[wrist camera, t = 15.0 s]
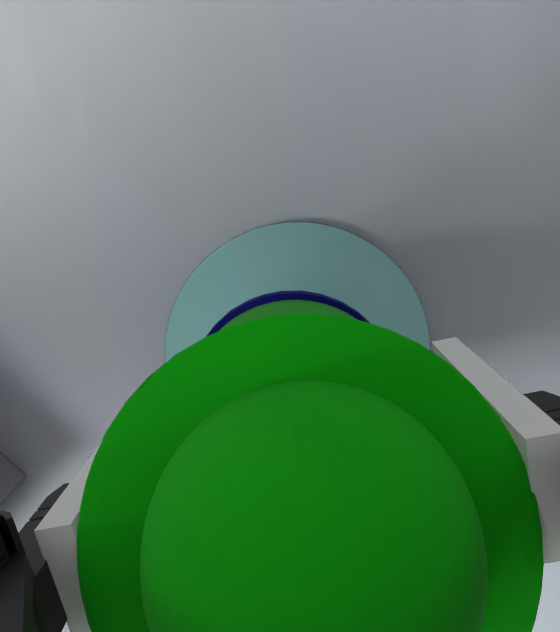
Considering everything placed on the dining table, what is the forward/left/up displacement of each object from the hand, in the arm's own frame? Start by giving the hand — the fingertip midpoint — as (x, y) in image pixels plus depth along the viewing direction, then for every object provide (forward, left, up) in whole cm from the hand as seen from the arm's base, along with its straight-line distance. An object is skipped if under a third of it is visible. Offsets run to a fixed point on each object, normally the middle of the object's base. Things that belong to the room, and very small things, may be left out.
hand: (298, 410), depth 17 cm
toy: (0, 0, -5) cm, 5 cm away
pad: (0, 0, -6) cm, 6 cm away
